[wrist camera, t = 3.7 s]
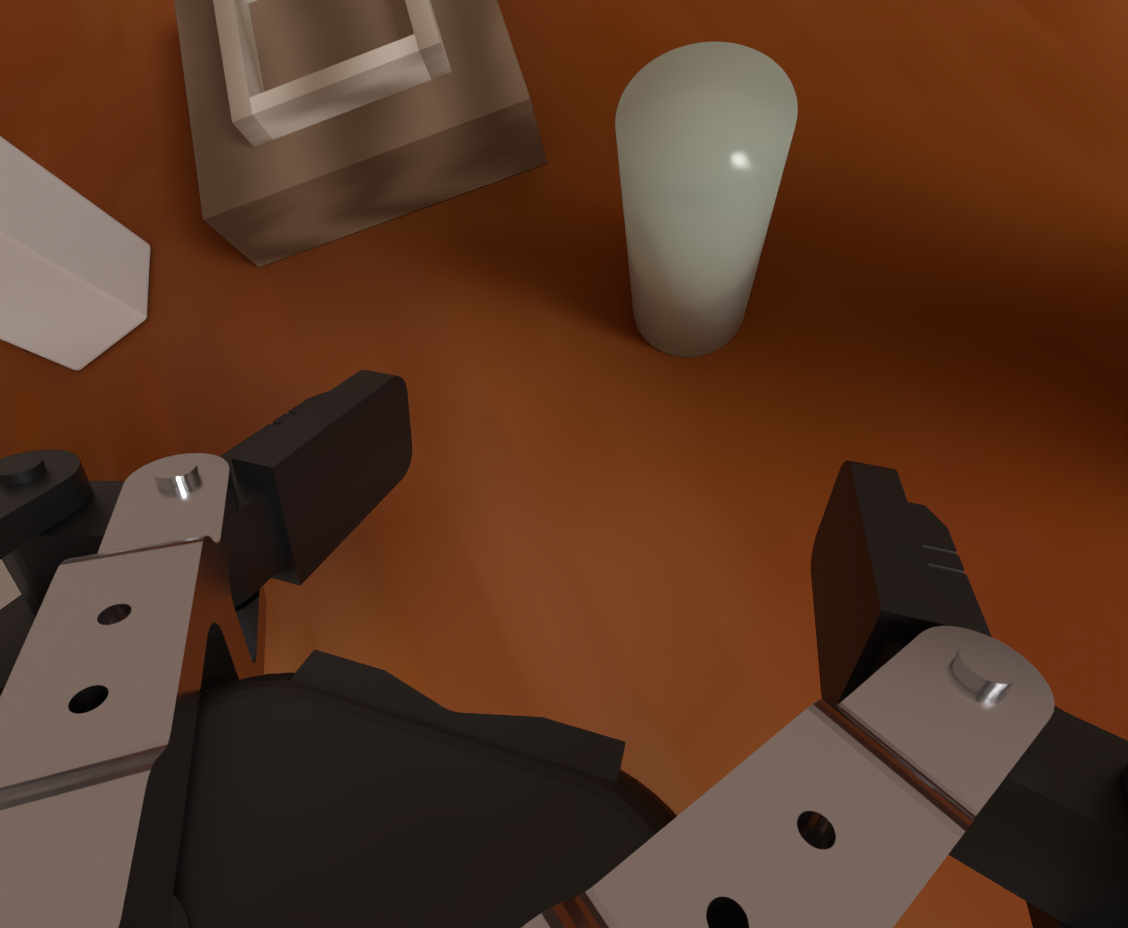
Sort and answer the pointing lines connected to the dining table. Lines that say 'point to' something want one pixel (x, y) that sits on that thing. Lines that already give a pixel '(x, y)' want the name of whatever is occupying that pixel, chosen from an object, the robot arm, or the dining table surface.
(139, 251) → the jar
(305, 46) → the display plinth
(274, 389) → the dining table surface
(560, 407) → the dining table surface
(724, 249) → the sage cylinder
